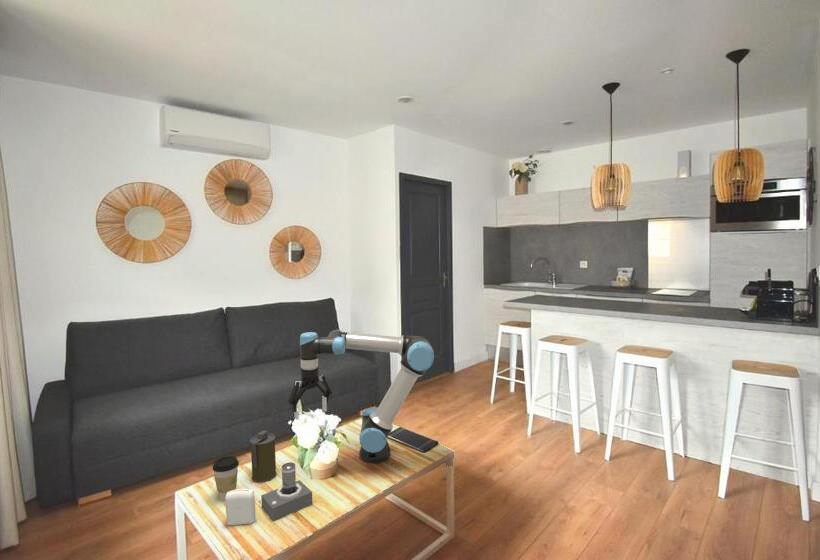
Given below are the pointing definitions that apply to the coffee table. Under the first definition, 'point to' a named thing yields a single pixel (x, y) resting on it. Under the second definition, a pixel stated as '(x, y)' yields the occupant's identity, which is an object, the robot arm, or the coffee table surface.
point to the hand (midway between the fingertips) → (310, 414)
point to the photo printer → (240, 507)
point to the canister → (263, 457)
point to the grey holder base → (286, 501)
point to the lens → (288, 478)
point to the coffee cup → (225, 475)
